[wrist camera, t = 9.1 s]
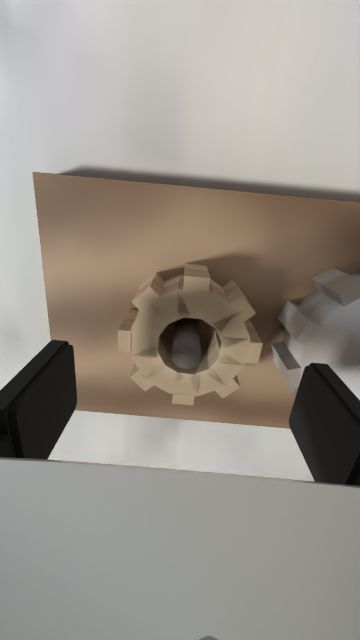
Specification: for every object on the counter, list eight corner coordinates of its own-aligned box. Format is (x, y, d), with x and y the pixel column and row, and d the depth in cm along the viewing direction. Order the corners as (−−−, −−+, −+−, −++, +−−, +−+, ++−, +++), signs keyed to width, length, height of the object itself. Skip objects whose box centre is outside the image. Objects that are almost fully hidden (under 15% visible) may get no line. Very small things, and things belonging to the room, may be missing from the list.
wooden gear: (238, 379, 18) (247, 410, 15) (128, 369, 18) (117, 398, 15) (260, 270, 15) (276, 284, 13) (130, 258, 15) (118, 269, 12)
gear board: (373, 417, 22) (452, 507, 15) (69, 391, 21) (18, 471, 15) (466, 214, 16) (659, 220, 9) (50, 176, 16) (-47, 154, 9)
